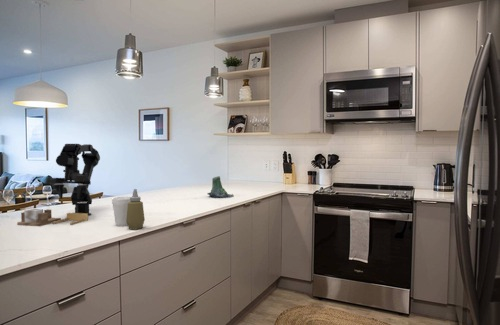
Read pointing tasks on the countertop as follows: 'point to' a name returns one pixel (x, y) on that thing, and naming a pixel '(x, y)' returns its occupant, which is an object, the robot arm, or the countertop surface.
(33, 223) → the display stand
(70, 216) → the wooden c-shaped bracket
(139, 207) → the squeeze bottle
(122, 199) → the foam cup
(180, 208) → the countertop surface
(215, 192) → the tree stump
